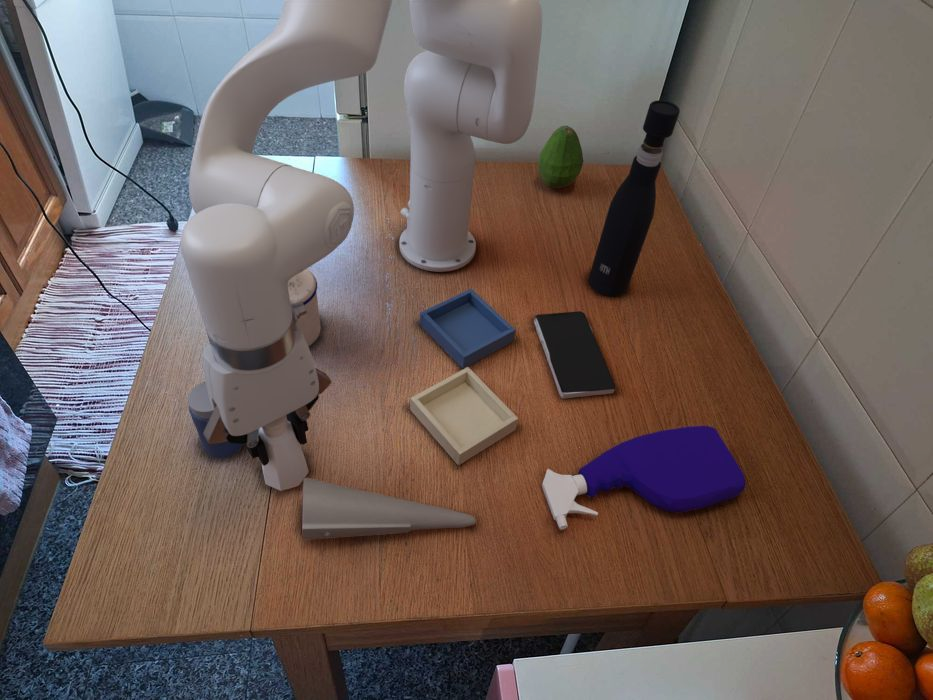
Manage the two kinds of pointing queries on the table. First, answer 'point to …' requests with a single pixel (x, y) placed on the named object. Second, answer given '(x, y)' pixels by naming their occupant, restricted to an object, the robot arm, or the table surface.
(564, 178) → the avocado
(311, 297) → the teacup with lid
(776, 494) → the table surface
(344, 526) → the grey tapered cone
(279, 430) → the salt shaker
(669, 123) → the black bottle
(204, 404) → the pepper shaker
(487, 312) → the blue tray
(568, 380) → the smartphone
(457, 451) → the cream tray
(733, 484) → the spray bottle
